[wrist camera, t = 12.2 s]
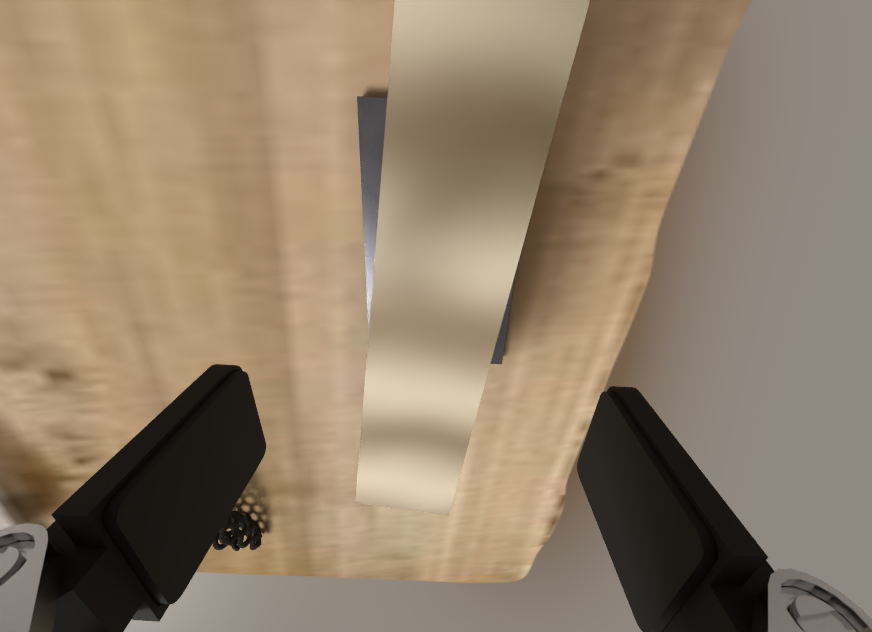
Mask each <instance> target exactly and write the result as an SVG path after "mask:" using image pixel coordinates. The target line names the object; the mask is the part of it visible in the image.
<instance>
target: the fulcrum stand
mask: <svg viewBox="0 0 872 632" xmlns="http://www.w3.org/2000/svg"><path fill="white" fill-rule="evenodd" d="M357 103H358V123H359V144H360V164H361V185H362V205H363V226H364V246H365V267H366V288H367V308H368V329H369V324H370V312H371V299H372V286H373V274H374V261H375V248H376V236H377V223H378V210H379V198H380V185H381V172H382V160H383V147H384V134H385V122H386V109H387V98H379V97H358V96H357ZM515 276H516V272H515ZM515 276H514V279H513V283H512V287H511V290H510V294H509V298H508V301H507V305H506V309H505V312H504V316H503V320H502V323H501V327H500V330H499V334H498V338H497V341H496V345H495V349H494V352H493V356H492V360H491V363H490V364H502V359H503V352H504V346H505V340H506V333H507V327H508V321H509V314H510V308H511V301H512V295H513V289H514V282H515Z"/></svg>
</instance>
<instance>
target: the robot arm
mask: <svg viewBox="0 0 872 632" xmlns="http://www.w3.org/2000/svg"><path fill="white" fill-rule="evenodd" d="M265 450H266V442H265V438H264V435H263V431H262V427H261V423H260V419H259V415H258V412H257V408H256V404H255V400H254V396H253V392H252V389H251V385H250V381H249V377H248V374H247V373H246V372H244V371H242V369H241V368H240V367H239V366H237V365H220V364H215V365H212V366H211V367H209V368H208V369H207V370H206V371H205V372H204V373H203V374H202V375H201V376H200V377H199V378H198V379H196V380H195V381H194V382H193V383H192V384H191V385H190V386H189V387H188V388H187V389H186V390H185V391H184V392H183V393H181V394H180V395H179V396H178V397H177V398H176V399H175V400H174V401H173V402H172V403H171V404H170V405H169V406H167V407H166V408H165V409H164V410H163V411H162V412H161V413H160V414H159V415H158V416H157V417H156V418H155V419H153V420H152V421H151V422H150V423H149V424H148V425H147V426H146V427H145V428H144V429H143V430H142V431H141V432H140V433H138V434H137V435H136V436H135V437H134V438H133V439H132V440H131V441H130V442H129V443H128V444H127V445H126V446H124V447H123V448H122V449H121V450H120V451H119V452H118V453H117V454H116V455H115V456H114V457H113V458H112V459H111V460H109V461H108V462H107V463H106V464H105V465H104V466H103V467H102V468H101V469H100V470H99V471H98V472H97V473H95V474H94V475H93V476H92V477H91V478H90V479H89V480H88V481H87V482H86V483H85V484H84V485H83V486H81V487H80V488H79V489H78V490H77V491H76V492H75V493H74V494H73V495H72V496H71V497H70V498H69V499H68V500H66V501H65V502H64V503H63V504H62V505H61V506H60V507H59V508H58V509H57V510H56V511H55V512H54V513H52V514H51V515H52V516H53V517H54V519H55V520H56V521H55V522H54V523H53V524H52V525H51V526H50V527H48V528H47V529H45V528H44V527H42V526H41V525H37V524H31V523H29V524H21V525H14V526H11V527H8V528H5V529H2V530H0V632H123V631H124V630H125V628H126V627H127V625H128V624H129V622H130V621H131V619H133V620H145V621H160V619H161V618H162V616H163V614H164V613H165V611H166V610H167V608H168V606H169V605H170V604H173V603H175V602H176V601H177V600H178V599H179V598H180V597H181V595H182V594H183V592H184V590H185V589H186V587H187V585H188V584H189V582H190V580H191V579H192V577H193V575H194V574H195V572H196V570H197V569H198V567H199V565H200V563H201V562H202V560H203V558H204V557H205V555H206V553H207V552H208V550H209V548H210V547H211V545H212V543H213V542H214V540H215V538H216V536H217V535H218V533H219V531H220V530H221V528H222V526H223V525H224V523H225V521H226V520H227V518H228V516H229V514H230V513H231V511H232V509H233V508H234V506H235V504H236V503H237V501H238V499H239V498H240V496H241V494H242V493H243V491H244V489H245V487H246V486H247V484H248V482H249V481H250V479H251V477H252V476H253V474H254V472H255V471H256V469H257V467H258V466H259V464H260V462H261V460H262V459H263V457H264V454H265ZM577 471H578V475H579V478H580V481H581V483H582V485H583V488H584V491H585V493H586V496H587V498H588V501H589V503H590V506H591V508H592V511H593V513H594V516H595V518H596V521H597V523H598V526H599V529H600V531H601V534H602V536H603V539H604V541H605V544H606V546H607V549H608V551H609V554H610V557H611V559H612V562H613V564H614V567H615V569H616V572H617V574H618V577H619V579H620V582H621V584H622V587H623V589H624V592H625V594H626V597H627V599H628V602H629V604H630V607H631V609H632V612H633V615H634V617H635V620H636V622H637V624H638V626H639V628H640V629H641V630H642V631H643V632H872V619H871V618H870V617H869V616H868V615H867V614H866V613H865V612H864V611H863V610H862V609H861V608H860V607H858V606H857V605H856V604H855V603H853V602H852V601H851V600H850V599H848V598H847V597H846V596H845V595H844V594H842V593H841V592H839V591H838V590H836V589H835V588H833V587H832V586H830V585H828V584H827V583H825V582H824V581H822V580H820V579H817V578H815V577H813V576H811V575H809V574H807V573H804V572H800V571H796V570H792V569H778V570H777V571H774V570H773V569H772V568H771V566H770V565H769V564H768V562H767V561H766V559H767V558H768V556H767V555H766V554H765V553H764V551H763V550H762V549H761V548H760V546H759V545H758V544H757V542H756V541H755V540H754V538H753V537H752V536H751V535H750V533H749V532H748V531H747V530H746V529H745V527H744V526H743V524H742V523H741V522H740V520H739V519H738V518H737V517H736V515H735V514H734V513H733V511H732V510H731V509H730V508H729V507H728V505H727V504H726V502H725V501H724V500H723V499H722V497H721V496H720V495H719V493H718V492H717V491H716V490H715V488H714V487H713V486H712V485H711V483H710V482H709V481H708V479H707V478H706V477H705V475H704V474H703V473H702V472H701V470H700V469H699V468H698V466H697V465H696V464H695V463H694V461H693V460H692V459H691V457H690V456H689V455H688V454H687V452H686V451H685V450H684V449H683V447H682V446H681V445H680V443H679V442H678V441H677V439H676V438H675V437H674V436H673V434H672V433H671V432H670V430H669V429H668V428H667V427H666V425H665V424H664V423H663V421H662V420H661V419H660V418H659V416H658V415H657V414H656V412H655V411H654V410H653V408H652V407H651V406H650V405H649V403H648V402H647V401H646V400H645V398H644V397H643V396H642V394H641V393H640V392H639V391H638V390H637V389H636V388H633V387H615V386H612V387H610V388H609V389H608V390H607V392H602V393H601V395H600V398H599V401H598V404H597V407H596V410H595V413H594V415H593V418H592V421H591V424H590V427H589V430H588V433H587V436H586V439H585V442H584V445H583V448H582V451H581V453H580V456H579V459H578V463H577Z"/></svg>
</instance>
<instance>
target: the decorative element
mask: <svg viewBox="0 0 872 632" xmlns="http://www.w3.org/2000/svg"><path fill="white" fill-rule="evenodd" d="M239 527H241V528H242V531H241V530H240V529H239ZM228 528H230V529H232V530H230V531H226V530H227V529H228ZM252 533H253V535H252ZM231 535H233V536H232V537H231ZM244 535H246V536H247V540H246V541H245V542H243V540H244ZM261 537H262V534H261V532H260V530H259V528H258V527H257V525H256V524H255V523H254V522H253V521H251V520H250V519H249V518H248V517H247V516H245V515H243V514H241V513H239V512H237V511H231V513H230V514H229V516H228V518H227V520H226V522H225V523H224V525H223V526H222V528H221V530H220V532H219V533H218V535H217V536H216V538H215V540H214V542H213V547H214V548H215V549H216V550H221V549H223V548H225V547H226V546H227V545H230V546H232V548H233V549H234V550H235V551H238V550H239V549H240V548H245V547H247V545H248V544H249V543H250V549H251V550H255V549H256V548H258V547H260V545H261ZM218 539H219V541H220V543H222V544H218ZM255 542H256V543H255ZM237 544H238V545H237Z"/></svg>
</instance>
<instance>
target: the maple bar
mask: <svg viewBox="0 0 872 632" xmlns="http://www.w3.org/2000/svg"><path fill="white" fill-rule="evenodd" d="M589 3H590V0H395V8H394V20H393V33H392V46H391V58H390V71H389V84H388V96H387V109H386V122H385V134H384V147H383V160H382V172H381V185H380V198H379V210H378V223H377V236H376V248H375V261H374V274H373V286H372V299H371V312H370V324H369V337H368V350H367V362H366V375H365V388H364V400H363V413H362V426H361V438H360V451H359V464H358V476H357V489H356V502H355V503H359V504H367V505H374V506H381V507H389V508H396V509H403V510H410V511H418V512H425V513H432V514H440V515H447V516H449V513H450V509H451V505H452V502H453V498H454V494H455V491H456V487H457V483H458V480H459V476H460V473H461V469H462V465H463V462H464V458H465V454H466V451H467V447H468V443H469V440H470V436H471V432H472V429H473V425H474V422H475V418H476V414H477V411H478V407H479V403H480V400H481V396H482V392H483V389H484V385H485V381H486V378H487V374H488V371H489V367H490V363H491V360H492V356H493V352H494V349H495V345H496V341H497V338H498V334H499V330H500V327H501V323H502V320H503V316H504V312H505V309H506V305H507V301H508V298H509V294H510V290H511V287H512V283H513V279H514V276H515V272H516V269H517V265H518V261H519V258H520V254H521V250H522V247H523V243H524V239H525V236H526V232H527V229H528V225H529V221H530V218H531V214H532V210H533V207H534V203H535V199H536V196H537V192H538V188H539V185H540V181H541V178H542V174H543V170H544V167H545V163H546V159H547V156H548V152H549V148H550V145H551V141H552V137H553V134H554V130H555V127H556V123H557V119H558V116H559V112H560V108H561V105H562V101H563V97H564V94H565V90H566V86H567V83H568V79H569V76H570V72H571V68H572V65H573V61H574V57H575V54H576V50H577V46H578V43H579V39H580V35H581V32H582V28H583V25H584V21H585V17H586V14H587V10H588V6H589Z"/></svg>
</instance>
